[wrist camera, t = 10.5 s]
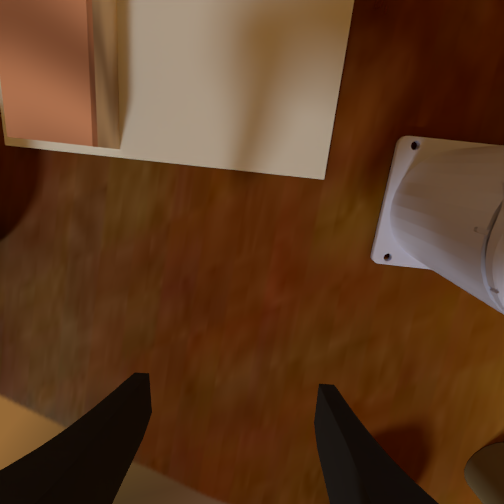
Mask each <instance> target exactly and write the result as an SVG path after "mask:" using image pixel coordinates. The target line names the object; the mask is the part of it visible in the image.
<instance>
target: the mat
mask: <svg viewBox="0 0 504 504" xmlns="http://www.w3.org/2000/svg"><path fill="white" fill-rule="evenodd" d="M353 5H354V0H117V36H118V85H119V134H120V149H112V148H102V147H93V146H84V145H75V144H66V143H57V142H48V141H40V140H31V139H22V138H13V137H7V130H6V122H5V114H4V106H3V98H2V90H1V82H0V110H1V117H2V125H3V133H4V140H5V145H8V146H18V147H27V148H36V149H45V150H55V151H64V152H73V153H82V154H92V155H101V156H110V157H119V158H129V159H138V160H147V161H157V162H166V163H175V164H184V165H194V166H203V167H212V168H221V169H231V170H240V171H249V172H259V173H268V174H277V175H286V176H296V177H305V178H314V179H323V180H324V177H325V171H326V165H327V159H328V153H329V147H330V142H331V136H332V130H333V124H334V118H335V112H336V106H337V100H338V94H339V88H340V82H341V76H342V70H343V65H344V59H345V53H346V47H347V41H348V35H349V29H350V23H351V17H352V11H353Z"/></svg>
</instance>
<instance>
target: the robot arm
mask: <svg viewBox="0 0 504 504" xmlns="http://www.w3.org/2000/svg"><path fill="white" fill-rule="evenodd" d="M412 142H416V144H417V147H416V149H414V150H413V149H412V148H411V144H412ZM386 254H389V258H388V259H384V256H385V255H386ZM371 259H372V260H373V261H374V262H375V263H378V264H387V265H396V266H405V267H414V268H423V269H432V270H433V271H435V272H437V273H438V274H440V275H441V276H443V277H445V278H446V279H448V280H449V281H451V282H453V283H454V284H456V285H457V286H459V287H461V288H462V289H464V290H465V291H467V292H469V293H470V294H472V295H473V296H475V297H477V298H478V299H480V300H481V301H483V302H485V303H486V304H488V305H489V306H491V307H493V308H494V309H496V310H497V311H499V312H501V313H502V314H504V145H492V144H483V143H473V142H464V141H455V140H445V139H436V138H426V137H417V136H403V137H401V138H400V139H399V140H398V141H397V143H396V147H395V151H394V155H393V160H392V164H391V168H390V173H389V177H388V182H387V186H386V190H385V195H384V199H383V203H382V208H381V212H380V216H379V221H378V225H377V230H376V234H375V238H374V243H373V247H372V251H371ZM151 413H152V408H151V394H150V381H149V373H134V374H133V375H132V376H130V377H129V378H128V379H127V380H126V381H124V382H123V383H122V384H121V385H120V386H119V387H118V388H116V389H115V390H114V391H113V392H112V393H111V394H109V395H108V396H107V397H106V398H105V399H103V400H102V401H101V402H100V403H99V404H97V405H96V406H95V407H94V408H93V409H91V410H90V411H89V412H88V413H86V414H85V415H84V416H82V417H81V418H80V419H79V420H77V421H76V422H75V423H73V424H72V425H71V426H69V427H68V428H67V429H65V430H64V431H62V432H61V433H60V434H58V435H57V436H55V437H54V438H52V439H51V440H50V441H48V442H46V443H45V444H44V445H42V446H40V447H39V448H37V449H36V450H34V451H32V452H31V453H29V454H27V455H26V456H24V457H22V458H21V459H19V460H17V461H16V462H14V463H12V464H10V465H9V466H7V467H5V468H4V469H2V470H0V504H112V503H113V500H114V498H115V496H116V494H117V492H118V490H119V488H120V486H121V483H122V481H123V479H124V477H125V475H126V473H127V471H128V469H129V467H130V465H131V463H132V460H133V458H134V456H135V454H136V452H137V450H138V448H139V446H140V443H141V441H142V439H143V437H144V434H145V431H146V428H147V425H148V422H149V419H150V416H151ZM314 425H315V434H316V441H317V449H318V453H319V458H320V462H321V467H322V471H323V475H324V479H325V483H326V488H327V492H328V496H329V500H330V504H438V503H437V502H436V501H435V500H434V499H433V498H432V497H431V496H429V495H428V494H427V493H426V492H425V491H424V490H423V489H422V488H421V487H419V486H418V485H417V484H416V483H415V482H414V481H413V480H412V479H411V478H410V477H409V476H408V475H407V474H406V473H405V472H404V471H403V470H402V469H401V468H400V467H399V466H398V465H397V464H396V463H395V462H394V461H393V460H392V459H391V458H390V457H389V455H388V454H387V453H386V452H385V451H384V450H383V449H382V447H381V446H380V445H379V444H378V443H377V442H376V440H375V439H374V438H373V437H372V436H371V434H370V433H369V432H368V431H367V429H366V428H365V427H364V426H363V424H362V423H361V422H360V420H359V419H358V418H357V416H356V415H355V414H354V412H353V411H352V410H351V408H350V407H349V405H348V404H347V403H346V401H345V400H344V398H343V397H342V395H341V394H340V393H339V391H338V390H337V388H336V387H335V386H334V385H329V384H319V388H318V396H317V404H316V412H315V420H314Z"/></svg>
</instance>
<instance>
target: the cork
mask: <svg viewBox="0 0 504 504" xmlns="http://www.w3.org/2000/svg"><path fill="white" fill-rule="evenodd" d="M464 471H465V479H466V481H467V483H468V485H469V486H470V487H471V489H472V490H473V491H474V493H475V494H476V495H477V496H478V498H479V499H480V500H481V501H482V503H483V504H504V442H501V443H495V444H492V445H489V446H487V447H484V448H482V449H481V450H479V451H478V452H476V453H475V454H474V455H473V456H472V457H471V458H470V459H469V461H468V462H467V465H466V467H465V469H464Z"/></svg>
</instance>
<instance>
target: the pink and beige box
mask: <svg viewBox="0 0 504 504" xmlns="http://www.w3.org/2000/svg"><path fill="white" fill-rule="evenodd" d="M0 82H1V90H2V98H3V106H4V114H5V122H6V130H7V137H13V138H22V139H31V140H40V141H48V142H57V143H66V144H75V145H84V146H93V147H102V148H112V149H120V134H119V85H118V36H117V0H0Z"/></svg>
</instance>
